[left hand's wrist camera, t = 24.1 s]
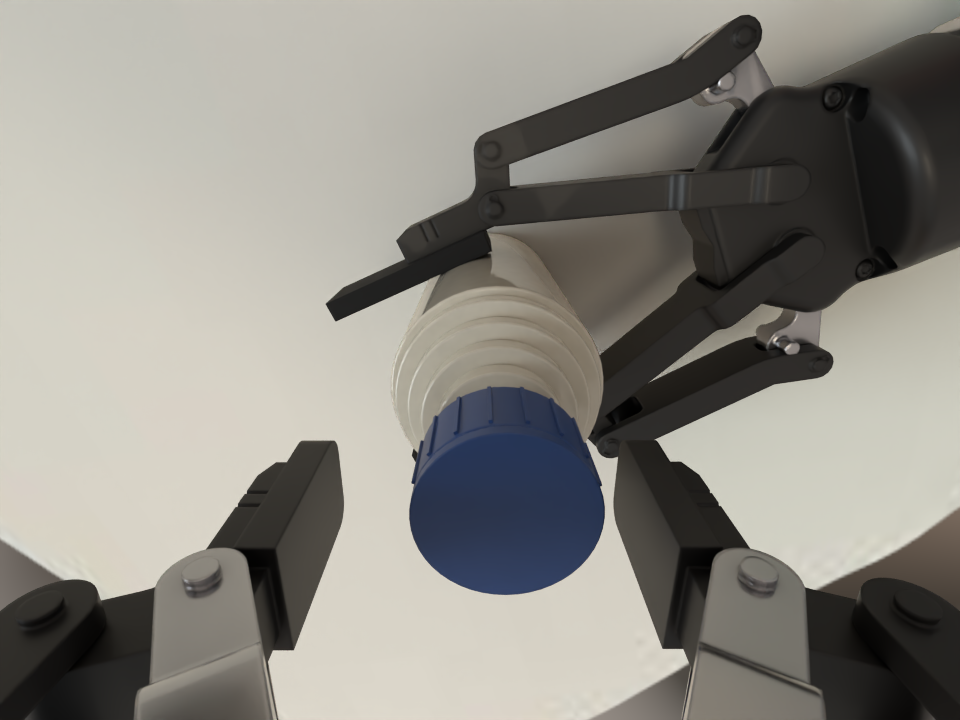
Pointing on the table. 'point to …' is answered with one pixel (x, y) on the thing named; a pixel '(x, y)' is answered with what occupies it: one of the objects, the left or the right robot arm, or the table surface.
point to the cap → (505, 493)
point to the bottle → (495, 341)
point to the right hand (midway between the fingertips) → (382, 378)
